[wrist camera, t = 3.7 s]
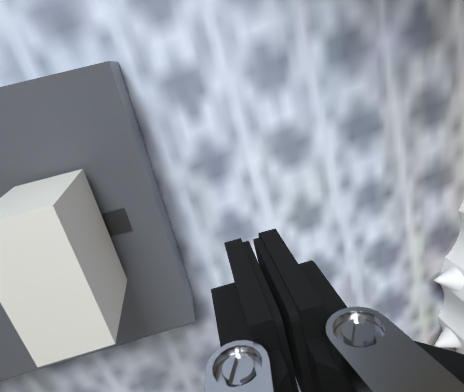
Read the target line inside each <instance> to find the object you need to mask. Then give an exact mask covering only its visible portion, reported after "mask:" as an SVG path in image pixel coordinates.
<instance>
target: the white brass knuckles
mask: <svg viewBox="0 0 464 392" xmlns="http://www.w3.org/2000/svg"><path fill="white" fill-rule="evenodd" d="M459 213H460V217H461V229H460V233H459V237H458V239H457V241H456V243H455V245H454V247H453V248H452V250H451V251H450V252H449V254H448V255H447V256H446V257H445V260H444V263H443V267H442V270H441V274H440V276H438V277H437V278H436V279H435V280H433V281H435V282H437V283H439V284H441V286H442V288H443V292H444V303H443V307H442V310H441V312H440V314H439V316H438V318H439V321H440V324H441V327H442V330H443V331H442V333H441V334H440V336H439V338H438V340H437V341H436V343H435V345H434V346H435V347H452V348H456V352H458V353H461V354H464V201H463V203H462V205H461V207H460V209H459Z"/></svg>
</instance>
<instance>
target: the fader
mask: <svg viewBox="0 0 464 392" xmlns="http://www.w3.org/2000/svg"><path fill="white" fill-rule="evenodd" d="M126 284H127V278H126V275H125V273H124V270H123V268H122V265H121V263H120V260H119V258H118V255H117V253H116V250H115V248H114V245H113V243H112V240H111V238H110V235H109V233H108V230H107V228H106V225H105V223H104V220H103V218H102V215H101V213H100V210H99V208H98V205H97V203H96V200H95V198H94V195H93V193H92V190H91V188H90V185H89V183H88V180H87V178H86V175H85V173H84V170H83V169H80V170H76V171H72V172H69V173H65V174H61V175H57V176H53V177H50V178H46V179H42V180H38V181H34V182H30V183H27V184H23V185H19V186H15V187H13V188H12V189H11V190H10V191H8V192H7V193H6V194H5V195H3V196H2V197H1V198H0V303H1V305H2V306H3V308H4V310H5V312H6V313H7V315H8V317H9V318H10V320H11V322H12V324H13V325H14V327H15V329H16V331H17V332H18V334H19V336H20V338H21V339H22V341H23V343H24V345H25V346H26V348H27V350H28V352H29V353H30V355H31V357H32V359H33V360H34V362H35V364H36V366H37V367H41V366H44V365H47V364H51V363H54V362H57V361H61V360H64V359H67V358H71V357H74V356H77V355H81V354H84V353H87V352H91V351H94V350H97V349H101V348H104V347H107V346H111V345H114V344H115V343H116V337H117V332H118V327H119V321H120V316H121V311H122V305H123V300H124V295H125V289H126Z"/></svg>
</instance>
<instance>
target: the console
mask: <svg viewBox="0 0 464 392" xmlns="http://www.w3.org/2000/svg"><path fill="white" fill-rule="evenodd" d="M80 169H83V170H84V173H85V175H86V178H87V180H88V183H89V185H90V188H91V190H92V193H93V195H94V198H95V200H96V203H97V205H98V208H99V210H100V213H101V215H102V218H103V220H104V223H105V225H106V228H107V230H108V233H109V235H110V238H111V240H112V243H113V245H114V248H115V250H116V253H117V255H118V258H119V260H120V263H121V265H122V268H123V270H124V273H125V275H126V278H127V284H126V289H125V295H124V300H123V305H122V311H121V316H120V321H119V327H118V332H117V337H116V343H115V344H114V345H111V346H107V347H104V348H101V349H97V350H94V351H91V352H87V353H84V354H81V355H77V356H74V357H71V358H67V359H64V360H61V361H57V362H54V363H51V364H47V365H44V366H41V367H37V366H36V364H35V362H34V360H33V359H32V357H31V355H30V353H29V352H28V350H27V348H26V346H25V345H24V343H23V341H22V339H21V338H20V336H19V334H18V332H17V331H16V329H15V327H14V325H13V324H12V322H11V320H10V318H9V317H8V315H7V313H6V312H5V310H4V308H3V306H2V305H1V303H0V381H1V380H4V379H7V378H11V377H14V376H17V375H21V374H24V373H27V372H30V371H34V370H37V369H40V368H44V367H47V366H50V365H54V364H57V363H60V362H64V361H67V360H70V359H74V358H77V357H80V356H84V355H87V354H90V353H94V352H97V351H100V350H104V349H107V348H110V347H114V346H117V345H120V344H123V343H127V342H130V341H133V340H137V339H140V338H143V337H147V336H150V335H153V334H157V333H160V332H163V331H167V330H170V329H173V328H177V327H180V326H183V325H187V324H190V323H193V322H195V314H194V305H193V295H192V289H191V286H190V283H189V280H188V277H187V274H186V271H185V268H184V264H183V261H182V258H181V255H180V252H179V249H178V246H177V243H176V240H175V237H174V234H173V230H172V227H171V224H170V221H169V218H168V215H167V212H166V209H165V206H164V203H163V200H162V196H161V193H160V190H159V187H158V184H157V181H156V178H155V175H154V172H153V169H152V166H151V162H150V159H149V156H148V153H147V150H146V147H145V144H144V141H143V138H142V135H141V132H140V128H139V125H138V122H137V119H136V116H135V113H134V110H133V107H132V104H131V101H130V98H129V94H128V91H127V88H126V85H125V82H124V79H123V76H122V73H121V70H120V67H119V64H118V62H113V61H108V62H103V63H99V64H95V65H91V66H87V67H83V68H78V69H74V70H70V71H66V72H62V73H58V74H53V75H49V76H45V77H41V78H37V79H33V80H28V81H24V82H20V83H16V84H12V85H8V86H3V87H0V198H1V197H2V196H3V195H5V194H6V193H7V192H8V191H10V190H11V189H12V188H13V187H15V186H19V185H23V184H27V183H30V182H34V181H38V180H42V179H46V178H50V177H53V176H57V175H61V174H65V173H69V172H72V171H76V170H80Z"/></svg>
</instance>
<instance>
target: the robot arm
mask: <svg viewBox="0 0 464 392" xmlns="http://www.w3.org/2000/svg"><path fill="white" fill-rule="evenodd" d="M253 240H254V245H255V250H256V254H257V258H258V261H257V259H256V257H255V254H254V252H253V250H252V248H251V245H250V243H249V241H246V242H242V240H241V238H240V239H236V240H233V241H229V242H225V247H226V251H227V255H228V259H229V262H230V266H231V270H232V274H233V277H234V281H235V282H234V283H231V284H227V285H224V286H220V287H217V288H214V289H211V292H212V298H213V304H214V310H215V316H216V322H217V328H218V334H219V340H220V346H221V347H220V348H219V349H218V350H217V351H216V352H215V353H213V354H212V356H211V357H210V359H209V361H208V363H207V366H206V370H205V383H204V392H298V388H297V383H296V379H297V382H298V384H299V387H300V389H301V392H464V354H461V353H458V352H454V351H450V350H446V349H443V348H439V347H435V346H431V345H428V344H424V343H420V342H416V341H413V340H412V339H411V338H410V337H409V336H407V335H406V334H405V333H404V332H403V331H402V330H400V329H399V328H398V327H397V326H396V325H395V324H394V323H392V322H391V321H390V320H389V319H388V318H387V317H385V316H384V315H383V314H381V313H379V312H378V311H376V310H373V309H370V308H365V307H348V308H347V306H346V305H345V303H344V302H343V301H342V299H341V298H340V297H339V295H338V294H337V293H336V291H335V290H334V288H333V287H332V286H331V284H330V283H329V282H328V280H327V279H326V278H325V276H324V275H323V273H322V272H321V271H320V269H319V268H318V267H317V265H316V264H315V263H314V262H313V261H308V262H304V263H301V264H298V263H297V261H296V260H295V258H294V257H293V255H292V254H291V252H290V251H289V249H288V247H287V246H286V244H285V243H284V241H283V240H282V238H281V237H280V235H279V233H278V232H277V230H276V229H272V230H268V231H265V232H261V233H259V238H256V239H253ZM258 263H259V264H258ZM295 377H296V379H295Z"/></svg>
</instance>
